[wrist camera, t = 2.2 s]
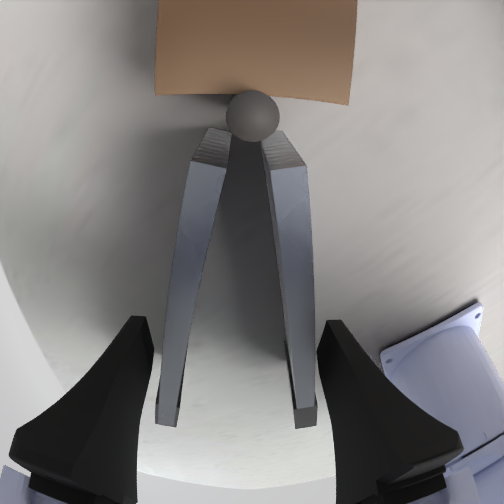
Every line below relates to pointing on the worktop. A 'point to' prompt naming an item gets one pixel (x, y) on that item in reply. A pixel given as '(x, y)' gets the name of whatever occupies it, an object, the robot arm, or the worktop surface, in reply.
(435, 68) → the worktop surface
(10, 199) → the worktop surface
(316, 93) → the block
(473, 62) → the worktop surface
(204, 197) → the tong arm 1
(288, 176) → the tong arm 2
